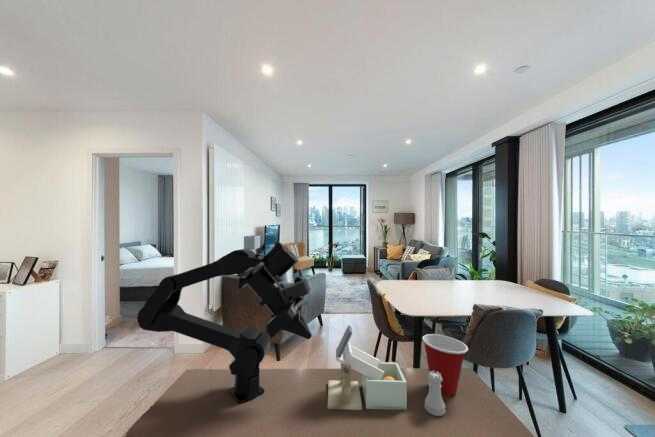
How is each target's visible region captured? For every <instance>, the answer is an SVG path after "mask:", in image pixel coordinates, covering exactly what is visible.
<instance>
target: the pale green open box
mask: <svg viewBox="0 0 655 437" xmlns="http://www.w3.org/2000/svg"><path fill="white" fill-rule="evenodd" d="M377 368H379V369H381V370H382V371H384V374H383V377H382V379H381V380H373V379H371V378H369V377H367V376H365V375H363V374H361V387H362V394H363V399H364V403H365V404H364V405H365V409H367V410H368V409H370V410H398V411H407V408H408V407H407V404H408V403H407V400H408V399H407V398H408V397H407V396H408V394H407V393H408V391H407V388H408V387H407V384H408V382H407V380H406V378H405V376H404V374H403V372H402V369H401V368H400V366H399V364H398V362H383V361H382V362H381V361H380V363H379V365H378V367H377ZM388 376H390V377H393V378H394V379H395V380H383V379H384V378H385V377H388Z"/></svg>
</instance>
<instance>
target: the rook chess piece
mask: <svg viewBox="0 0 655 437" xmlns="http://www.w3.org/2000/svg"><path fill="white" fill-rule="evenodd" d="M427 379H428V384H427V385H428V394H427V395H426V398H425V399H424V408H425V410H426V412H427V413H428V414H430V415H431V416H435V417H441V416H444V415H445V413H446V404H445V402H444V399H443V398H442V396H443V395H442V394H441V387H442V386H441V382H442V381H443V379H442V377H441V374H440V373H439V372H436V373H435V371H432V373H431V371H429V370H428V374H427Z"/></svg>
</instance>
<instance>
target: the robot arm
mask: <svg viewBox="0 0 655 437" xmlns="http://www.w3.org/2000/svg"><path fill="white" fill-rule="evenodd" d="M298 262H299V259H298V258H297V255H295V254H294V253H293V252H292V250H289V248H288V247H286V246H285V245H284V244H282V243H281V242H277V243H276V244H275V245H274V246H273V248H272V249H271V250H269V251H268V253H266V254H258V253H255V252H254V251H253V250H251V249H250V248H243V249H242V248H241V249H236V250H232V251H231V252H229V253H227V254H225V255H223V256H221V257H220V258H217V259H216V260H215V261H213V262H211V263H209V264H204V265H201V266H199V267H195V268H192V269H189V270H185V271H183V272H181V273H178V274H172V275H169V276H166V277H164V278H162V280H161V281H160V283H159V284H158V286H157V288H156V290H155V291H154V292H152V294H151V295H150V296H149V297H148V298H147V300H146V301H145V303H144V305H143V307H141V309H140V310H138V313H137V317H136V320H137V323H138V327H139V328H140V329H141V330H143V331H144V330H145V331H148V332H155V333H160V332H161V333H164V332H165V333H166V332H175V333H177V334H180V335H183V336H185V337H189V338H191V339H195V340H197V341H200V342H203V343H206V344H208V345H212V346H215V347H217V348H219V349H224V350H226V351H228V352H229V354H231V356H232V357H233V358H234V359H233V360H232V362H231V363H230V364H229V366H228V368H229V371H230V374H231V375H233V376H234V385H233V387H230V388H228V393H229V394H230V395H231V396H232V397H233V398H234V399H235V400H236V401H237V402H238V403H239V404H242V403H244V402H246V401H249V400H251V399H253V398H256V397H259V396H260V395H262V394H265V389H264V388H263V387H262V386H261V385H260V380H261V379H260V364H261V363H262V362H263V360H264V359H265V357H266V355H267V353H268V352H269V350H270V348H271V339H272V338H274V337H275V336H276V335H277V334H278V333H279V332H281V331H285V332H289V333H290V334H291V333H292V334H294V335H297V336H298V337H301V338H304V339H305V340H310V339H311V338H312V336H313V334H312V332H311V331H310V330H311V329H309V326H308V324H307V322H306V320H305V319H304V316H303V304H300V306H299V305H298V304H299V303H300V302H301V301H303V300H304V299H305V297H306V296H307V295H308V294H309V293H310V291H311V288H310V285H309V281H308V279H307V278H306V277H304V278H303V277H302V276H301V275H299V276H296V277H295V278H293V282H292V283H290V284H288V285H287V286H286V285H285V284H284V283H283V282H281V283H279V282H278V281H277V279H275V277H280V278H281V277H283V276H284V275H285V274H287V273H288V271H290V270H291V269H292V268H293V267H294V266H295V265H296V264H298ZM261 265H262V266H261ZM259 266H261V267H259ZM256 267H259V269H253V268H256ZM250 270H251V271H250ZM248 271H249V273H248V274H246V275H245V276H240V277H239V278H238V286H237V289H239V290H241V289H243V288H245V287H246V286H248V287H249V288H250V290H251V291H252V292H253V293H254V294H255V295H256V296H257V298H258V299H260V302H259V305H260V306H261V307H263V306H264V305H265V307H266V308H267V309H268V310H269V311H270V312H271V315H270V317H271V319H270V320H269V321H268V323H267V324H266V325H265V332H264V331H263V330H264V329H263V328H256V327H254V326H252V325H250V324H248V325H247V326H245V327H244V329H242V330H239V329H238V330H237V329H234V328H231V327H228V326H225V325H222V324H219V323H216V322H213V321H210V320H208V319H205V318H202V317H199V316H196V315H193V314H191V313H187V312H186V311H184V309H183V307H181V306H180V305H179V302H180V300H181V295H182V290H183V288H187V287H189V286H192V285H195V284H198V283H202V282H204V281H205V282H206V281H208V280H210V279H213V278H214V279H215V278H216V277H223V276H233V275H234V276H235V275H241V274H243V273H245V272H248ZM297 305H298V306H297Z"/></svg>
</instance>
